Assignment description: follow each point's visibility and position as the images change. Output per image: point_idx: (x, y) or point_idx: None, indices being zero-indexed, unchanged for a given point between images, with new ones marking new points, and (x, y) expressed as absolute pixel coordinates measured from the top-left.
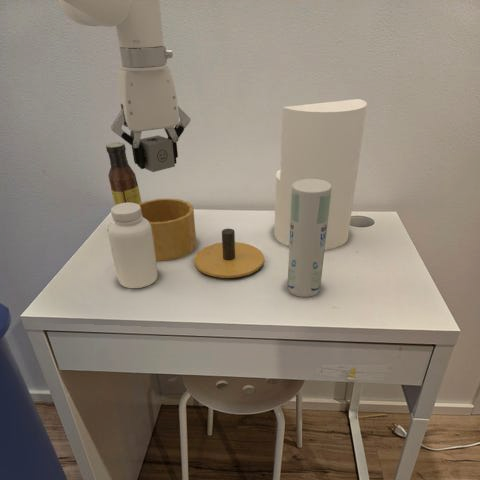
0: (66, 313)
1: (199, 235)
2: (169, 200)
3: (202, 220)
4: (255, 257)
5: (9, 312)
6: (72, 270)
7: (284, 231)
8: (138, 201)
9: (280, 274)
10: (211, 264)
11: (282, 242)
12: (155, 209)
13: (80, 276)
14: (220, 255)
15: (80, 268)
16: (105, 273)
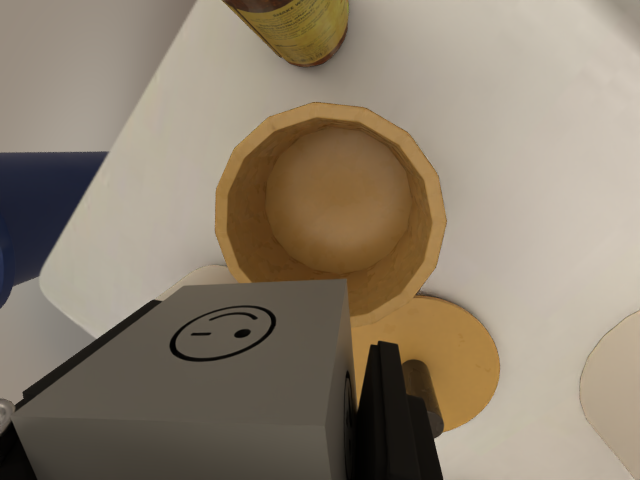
0: (87, 321)
1: (445, 202)
2: (401, 148)
3: (527, 107)
4: (461, 405)
5: (4, 256)
6: (109, 181)
7: (606, 407)
8: (312, 25)
9: (462, 453)
10: (363, 369)
11: (583, 376)
12: (346, 123)
13: (122, 217)
14: (404, 353)
15: (126, 183)
16: (169, 238)
